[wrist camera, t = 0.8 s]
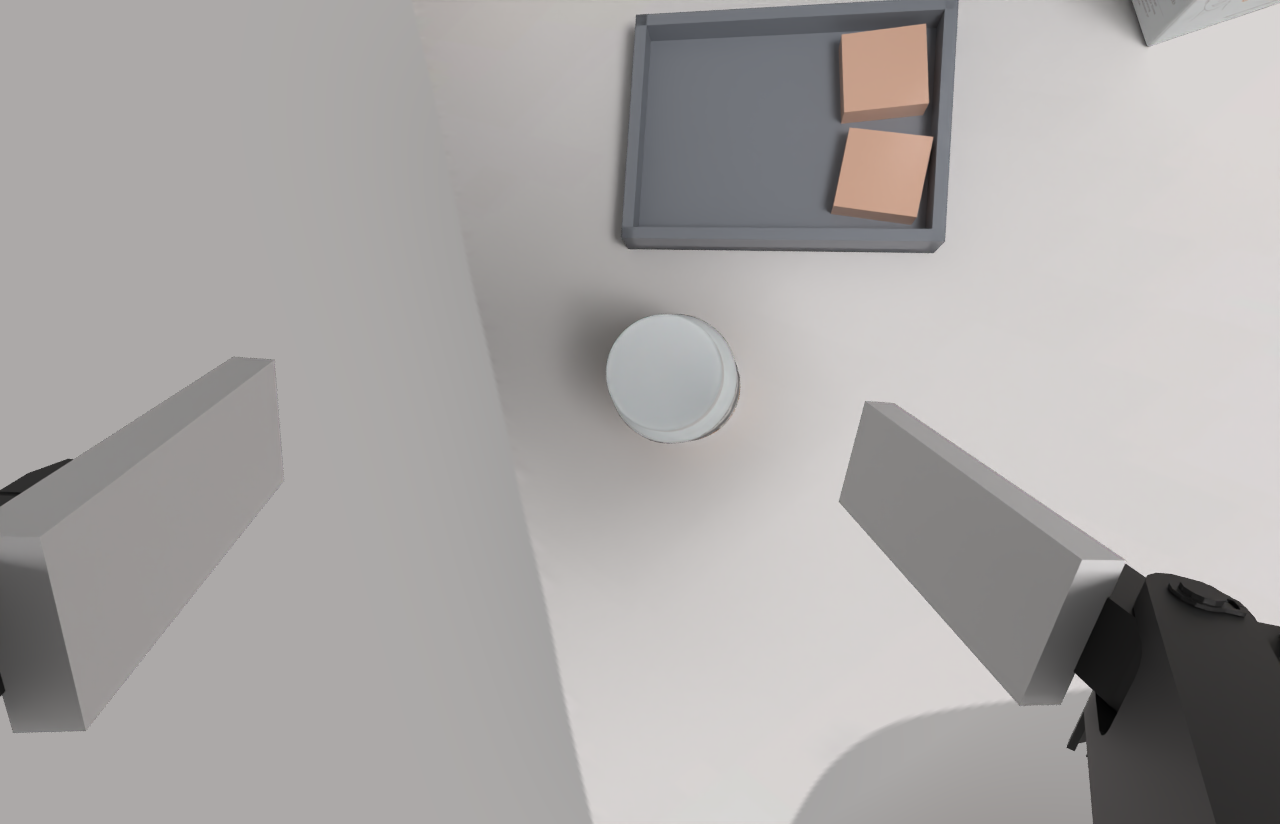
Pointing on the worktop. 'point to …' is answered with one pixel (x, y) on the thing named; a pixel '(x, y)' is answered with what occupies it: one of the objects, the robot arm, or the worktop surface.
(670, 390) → the pill bottle
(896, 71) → the tile
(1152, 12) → the small box
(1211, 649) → the robot arm
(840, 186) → the tile
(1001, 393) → the worktop surface
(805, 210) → the tray
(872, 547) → the worktop surface
